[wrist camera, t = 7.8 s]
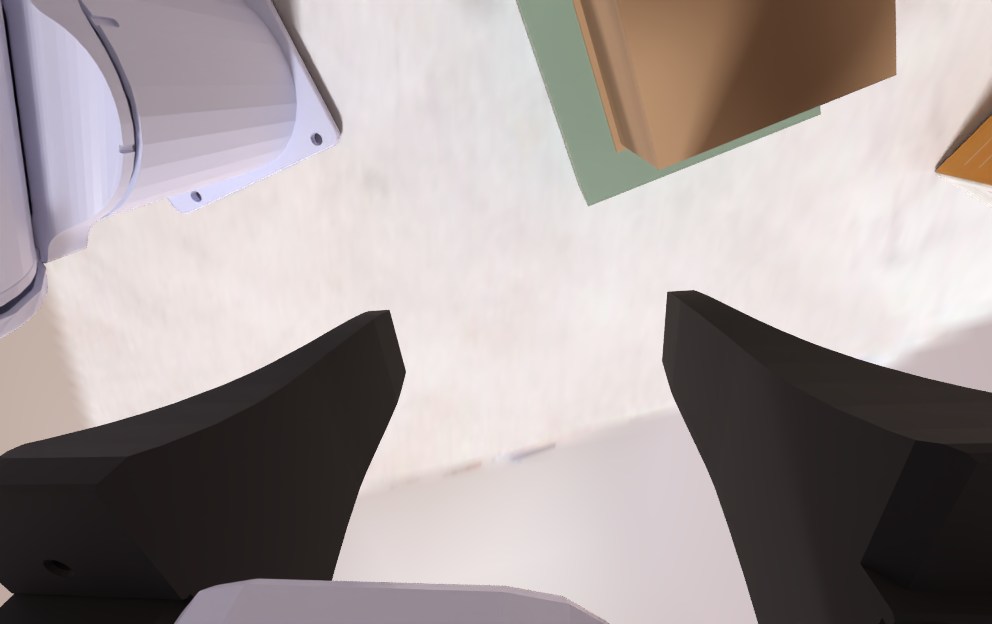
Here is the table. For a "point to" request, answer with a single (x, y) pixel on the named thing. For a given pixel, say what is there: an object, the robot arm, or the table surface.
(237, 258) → the table surface
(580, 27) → the green block
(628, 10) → the walnut cube
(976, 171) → the small box
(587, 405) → the table surface
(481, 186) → the table surface
